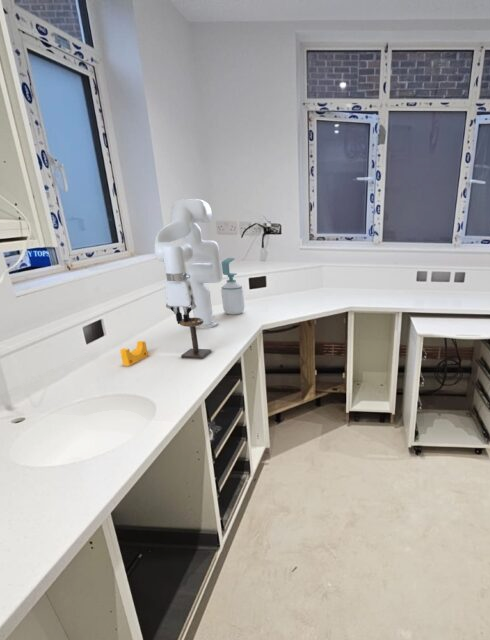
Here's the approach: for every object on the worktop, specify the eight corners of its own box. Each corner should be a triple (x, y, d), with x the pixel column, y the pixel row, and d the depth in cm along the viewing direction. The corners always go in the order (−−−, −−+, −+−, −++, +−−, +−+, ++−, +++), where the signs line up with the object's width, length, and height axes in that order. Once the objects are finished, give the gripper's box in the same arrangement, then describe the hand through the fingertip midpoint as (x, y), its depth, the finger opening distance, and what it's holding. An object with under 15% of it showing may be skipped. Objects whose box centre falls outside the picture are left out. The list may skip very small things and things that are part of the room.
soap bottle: (249, 312, 240) (244, 258, 228) (234, 316, 230) (228, 260, 218) (234, 309, 246) (229, 256, 234) (219, 313, 236) (212, 258, 224)
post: (191, 351, 174) (186, 321, 169) (211, 351, 174) (207, 322, 168) (181, 358, 166) (176, 327, 161) (202, 359, 165) (198, 327, 160)
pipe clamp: (139, 355, 169) (136, 340, 166) (148, 356, 168) (145, 341, 165) (119, 365, 158) (115, 349, 155) (129, 366, 157) (125, 350, 155)
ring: (186, 320, 169) (185, 316, 168) (207, 321, 168) (206, 317, 168) (175, 326, 161) (175, 322, 160) (197, 327, 160) (197, 323, 159)
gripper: (200, 276, 160) (206, 321, 167) (162, 275, 162) (169, 320, 169) (192, 279, 153) (198, 326, 161) (152, 278, 155) (160, 324, 162)
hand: (183, 322), depth 165 cm, fingers closed on ring, 2 cm apart
